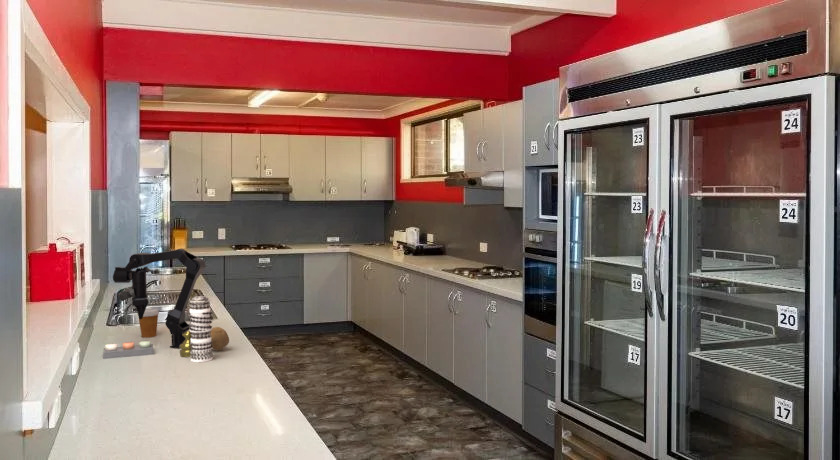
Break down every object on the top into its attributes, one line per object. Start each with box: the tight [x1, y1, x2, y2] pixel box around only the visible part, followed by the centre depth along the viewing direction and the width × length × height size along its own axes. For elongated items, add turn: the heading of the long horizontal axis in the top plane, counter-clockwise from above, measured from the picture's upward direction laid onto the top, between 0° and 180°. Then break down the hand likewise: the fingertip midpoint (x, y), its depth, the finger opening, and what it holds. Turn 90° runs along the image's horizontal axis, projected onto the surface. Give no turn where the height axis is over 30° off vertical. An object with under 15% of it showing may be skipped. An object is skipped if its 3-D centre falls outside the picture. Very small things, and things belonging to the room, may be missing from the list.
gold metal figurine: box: [179, 330, 192, 358], centre depth 310 cm, size 7×8×10 cm
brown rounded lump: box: [211, 326, 230, 352], centre depth 318 cm, size 9×9×10 cm
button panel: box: [102, 343, 155, 360], centre depth 314 cm, size 19×9×2 cm, turn 110°
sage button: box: [139, 340, 152, 348], centre depth 316 cm, size 4×4×2 cm
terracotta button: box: [122, 341, 135, 349], centre depth 314 cm, size 4×4×2 cm
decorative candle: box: [187, 295, 214, 363], centre depth 302 cm, size 9×9×25 cm
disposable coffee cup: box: [136, 308, 160, 339], centre depth 350 cm, size 10×10×12 cm
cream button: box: [104, 342, 118, 351], centre depth 311 cm, size 4×4×2 cm
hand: (140, 319), depth 327 cm, fingers closed
